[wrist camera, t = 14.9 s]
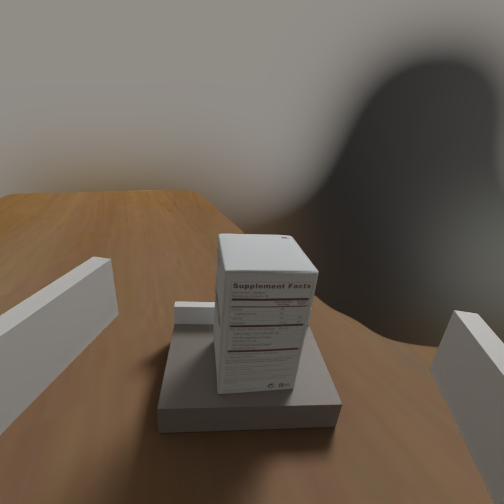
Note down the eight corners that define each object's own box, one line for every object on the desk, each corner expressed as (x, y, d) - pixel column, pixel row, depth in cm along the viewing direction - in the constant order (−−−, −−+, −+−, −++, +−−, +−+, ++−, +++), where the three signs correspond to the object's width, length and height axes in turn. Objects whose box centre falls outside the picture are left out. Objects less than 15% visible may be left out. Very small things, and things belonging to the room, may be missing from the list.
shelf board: (301, 337, 39) (308, 302, 37) (335, 426, 28) (348, 384, 26) (176, 336, 37) (175, 299, 35) (158, 433, 26) (155, 387, 24)
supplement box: (211, 339, 33) (216, 231, 28) (277, 337, 34) (294, 233, 29) (214, 397, 26) (222, 269, 21) (296, 391, 28) (322, 270, 22)
